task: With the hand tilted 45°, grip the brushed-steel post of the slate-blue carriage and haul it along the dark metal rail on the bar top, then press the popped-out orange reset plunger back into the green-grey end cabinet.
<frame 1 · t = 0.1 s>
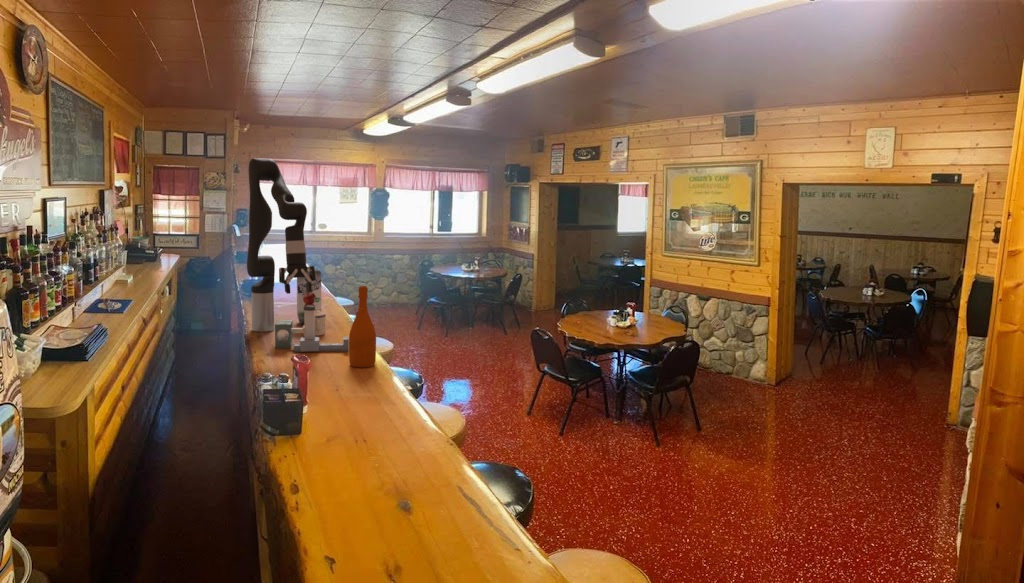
hand: (298, 292, 259), 22 cm above the table, tool pointing down, fingers open, 8 cm apart
juice carton: (309, 323, 306), on the table
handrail: (319, 350, 259), on the table
carriage: (309, 328, 256), point 9 cm above the table, slide at 0.0 cm
gauge cabinet: (284, 346, 263), on the table
teacup with lid: (315, 334, 285), on the table
reset plunger: (295, 330, 263), point 6 cm above the table, slide at 0.0 cm
wine bottle: (362, 365, 242), on the table
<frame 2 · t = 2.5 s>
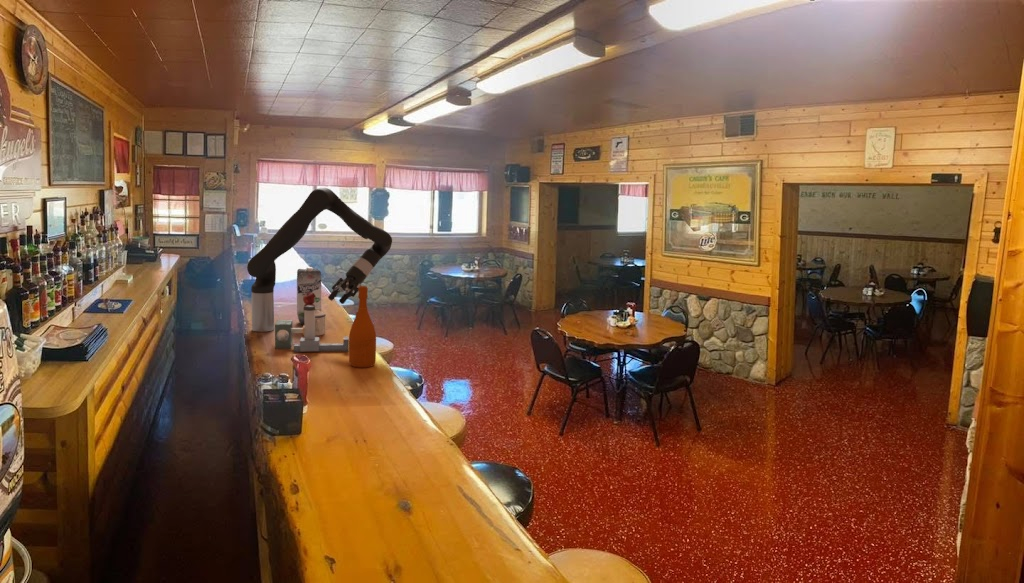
hand: (335, 300, 263), 19 cm above the table, tool tilted 45°, fingers open, 8 cm apart
nothing on the table moved.
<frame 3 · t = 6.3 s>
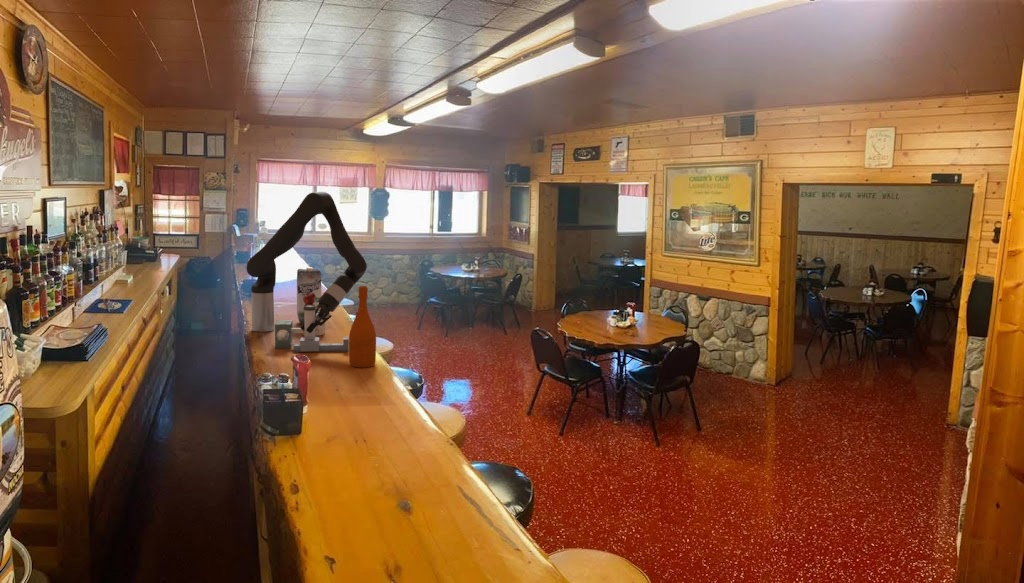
hand: (305, 330, 255), 9 cm above the table, tool tilted 45°, fingers closed on carriage, 4 cm apart
carriage: (309, 328, 256), point 9 cm above the table, slide at 0.0 cm, touching gripper
everything else where it was.
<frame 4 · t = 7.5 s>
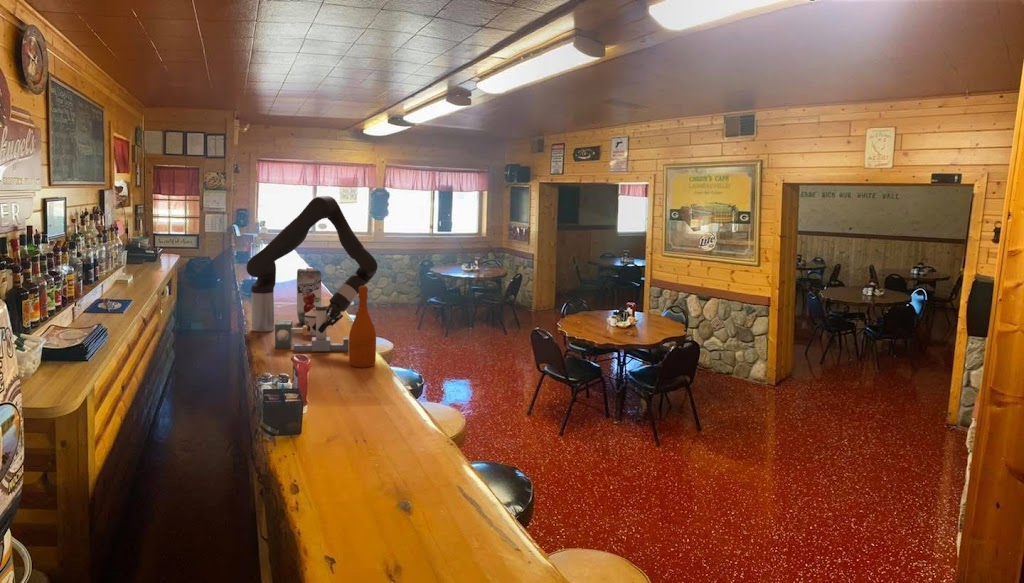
hand: (316, 330, 256), 9 cm above the table, tool tilted 45°, fingers closed on carriage, 4 cm apart
carriage: (321, 328, 257), point 9 cm above the table, slide at 4.4 cm, touching gripper
everything else where it was.
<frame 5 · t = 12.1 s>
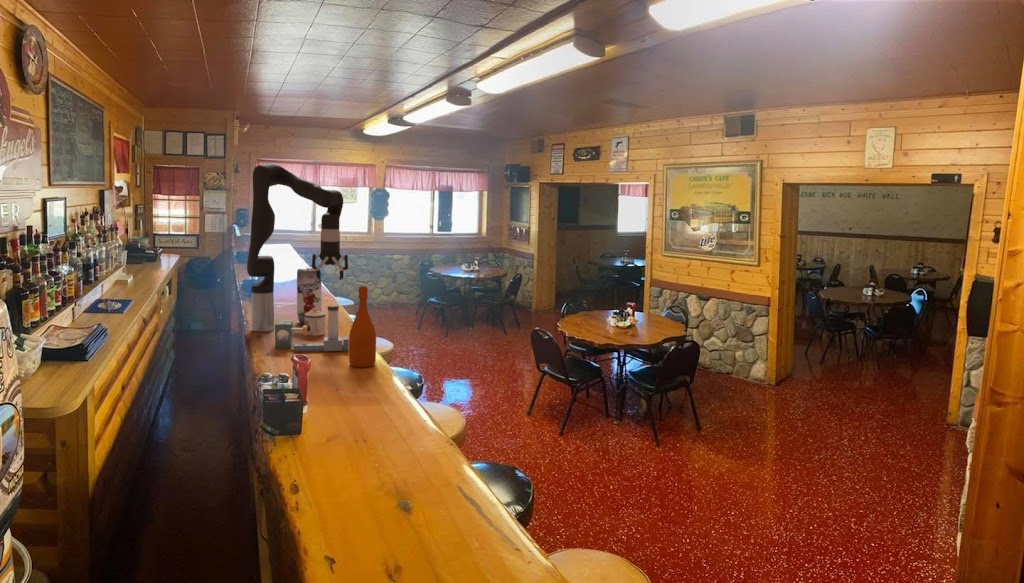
hand: (330, 279, 263), 28 cm above the table, tool pointing down, fingers open, 8 cm apart
carriage: (333, 327, 259), point 9 cm above the table, slide at 9.0 cm
everything else where it was.
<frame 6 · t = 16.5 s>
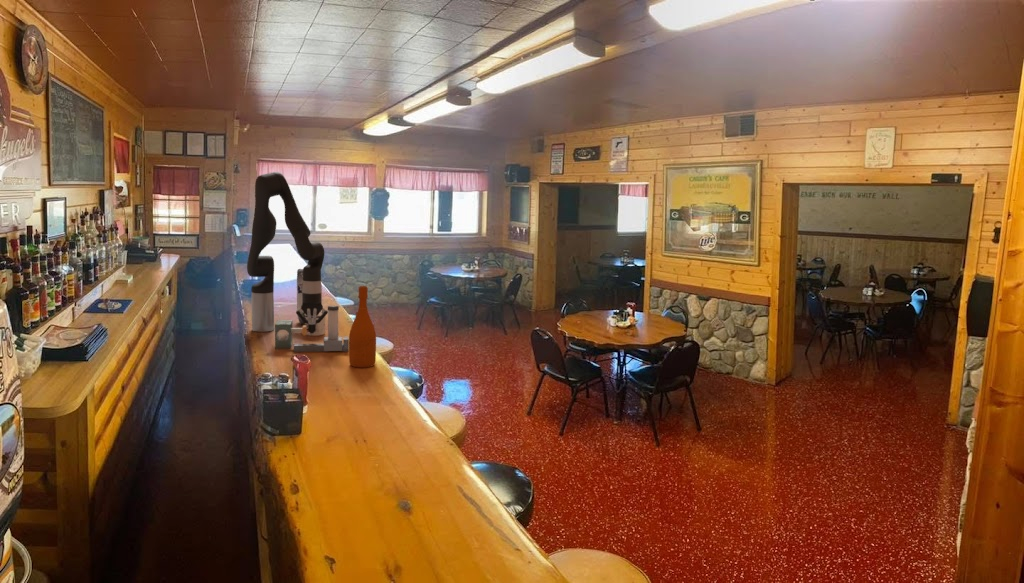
hand: (312, 332, 265), 5 cm above the table, tool pointing down, fingers closed
reset plunger: (294, 330, 263), point 6 cm above the table, slide at 0.2 cm, touching gripper
everything else where it was.
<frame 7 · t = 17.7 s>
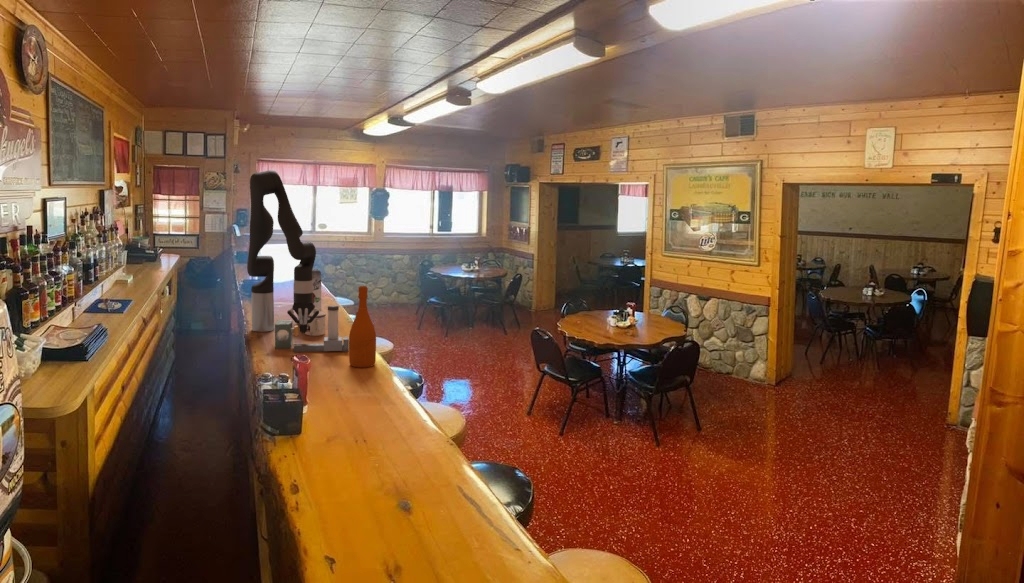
hand: (303, 332, 264), 5 cm above the table, tool pointing down, fingers closed
reset plunger: (286, 330, 262), point 6 cm above the table, slide at 3.5 cm, touching gripper
everything else where it was.
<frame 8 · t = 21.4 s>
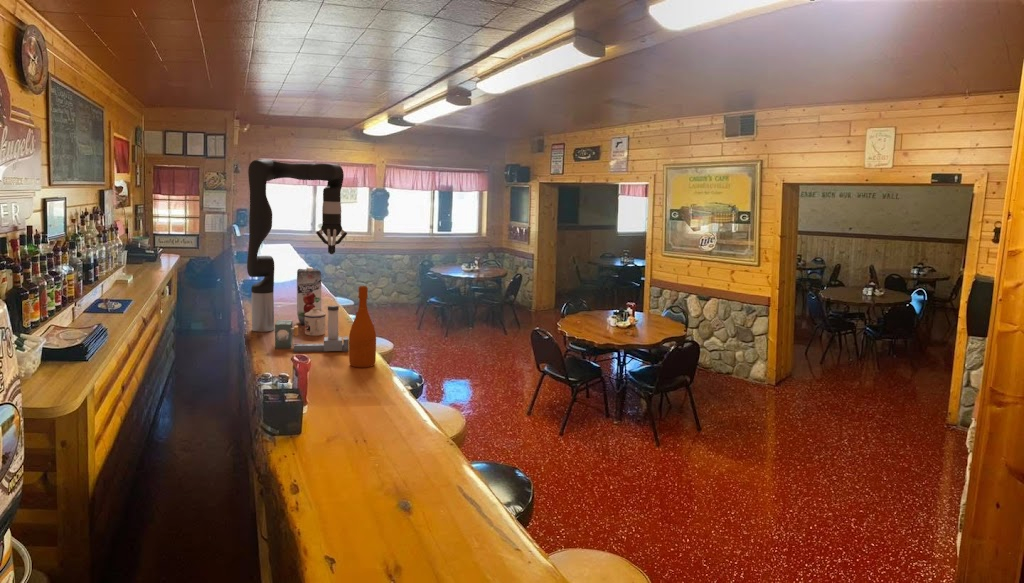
hand: (331, 253, 271), 37 cm above the table, tool pointing down, fingers closed
reset plunger: (286, 330, 262), point 6 cm above the table, slide at 3.5 cm
everything else where it was.
at the end: carriage slide at 9.0 cm; reset plunger slide at 3.5 cm; the gripper is holding nothing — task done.
